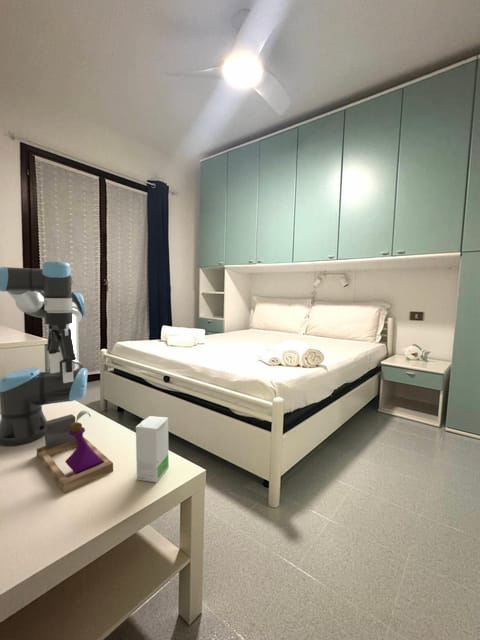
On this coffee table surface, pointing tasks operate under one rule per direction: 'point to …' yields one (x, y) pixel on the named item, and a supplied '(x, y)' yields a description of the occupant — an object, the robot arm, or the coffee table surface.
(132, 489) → the coffee table surface
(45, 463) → the strip frame
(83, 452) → the perfume bottle
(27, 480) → the coffee table surface
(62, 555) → the coffee table surface
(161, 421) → the skincare box
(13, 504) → the coffee table surface
